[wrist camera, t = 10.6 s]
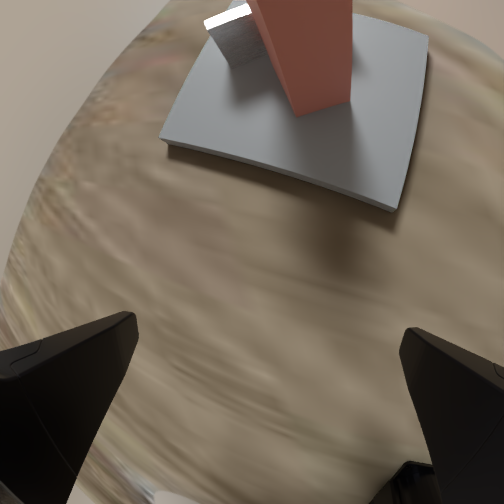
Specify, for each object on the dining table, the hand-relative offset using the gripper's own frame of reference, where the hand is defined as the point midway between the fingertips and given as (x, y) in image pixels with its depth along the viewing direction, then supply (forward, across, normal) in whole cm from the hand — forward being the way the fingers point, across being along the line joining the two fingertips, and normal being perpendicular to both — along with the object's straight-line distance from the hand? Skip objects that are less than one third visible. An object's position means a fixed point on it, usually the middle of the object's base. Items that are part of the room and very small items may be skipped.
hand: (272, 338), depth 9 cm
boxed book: (+13, -2, -12) cm, 18 cm away
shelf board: (+15, -2, -12) cm, 20 cm away
